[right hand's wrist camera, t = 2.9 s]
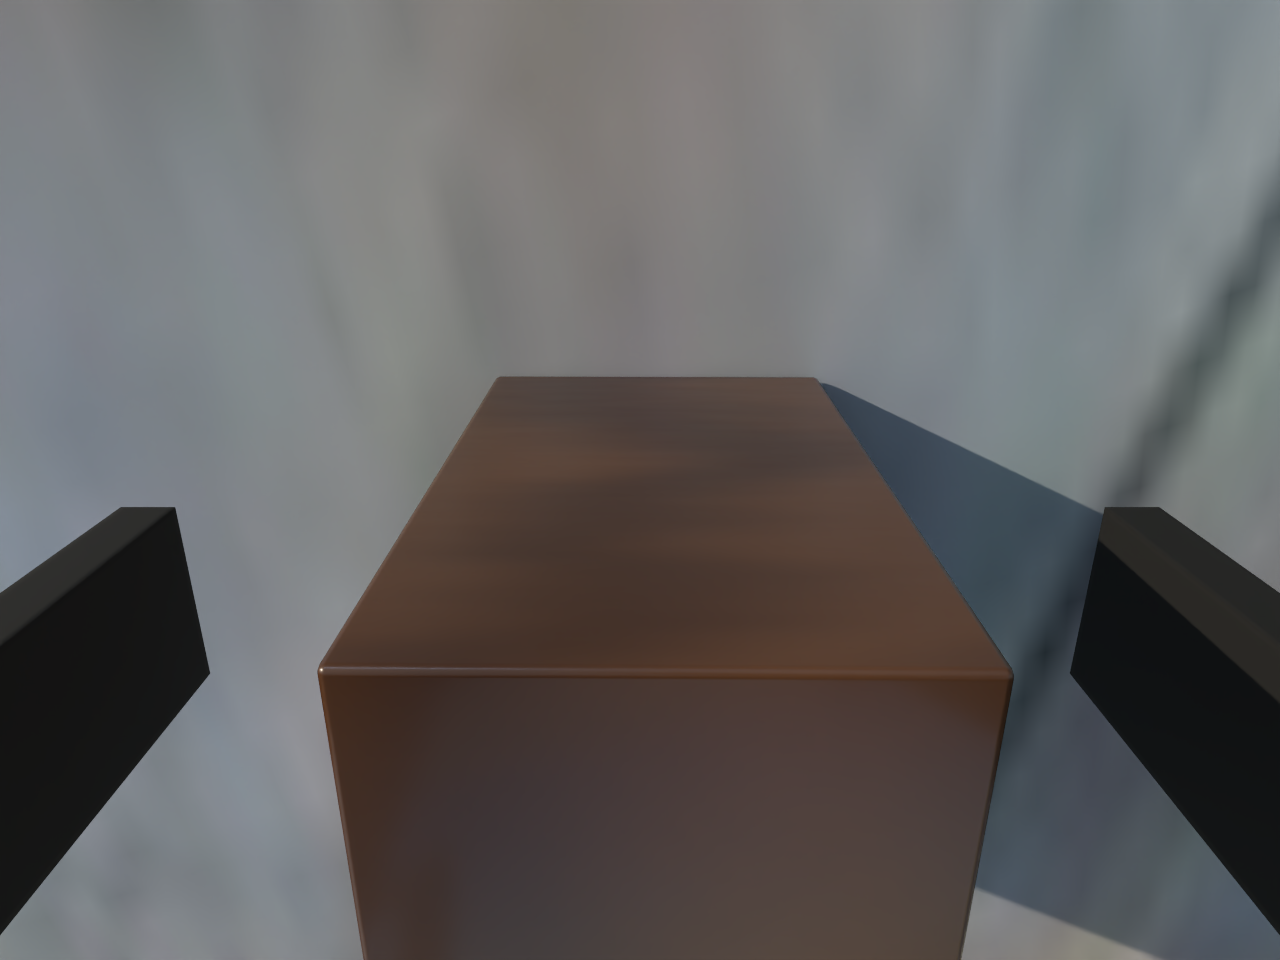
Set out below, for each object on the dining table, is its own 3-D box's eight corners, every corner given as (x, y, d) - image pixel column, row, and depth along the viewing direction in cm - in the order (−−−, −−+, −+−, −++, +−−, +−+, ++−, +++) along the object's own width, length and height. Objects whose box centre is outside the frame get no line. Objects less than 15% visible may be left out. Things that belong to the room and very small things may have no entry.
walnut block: (817, 376, 14) (1019, 671, 6) (796, 651, 15) (931, 1135, 8) (496, 375, 14) (313, 668, 6) (513, 650, 15) (387, 1129, 8)
